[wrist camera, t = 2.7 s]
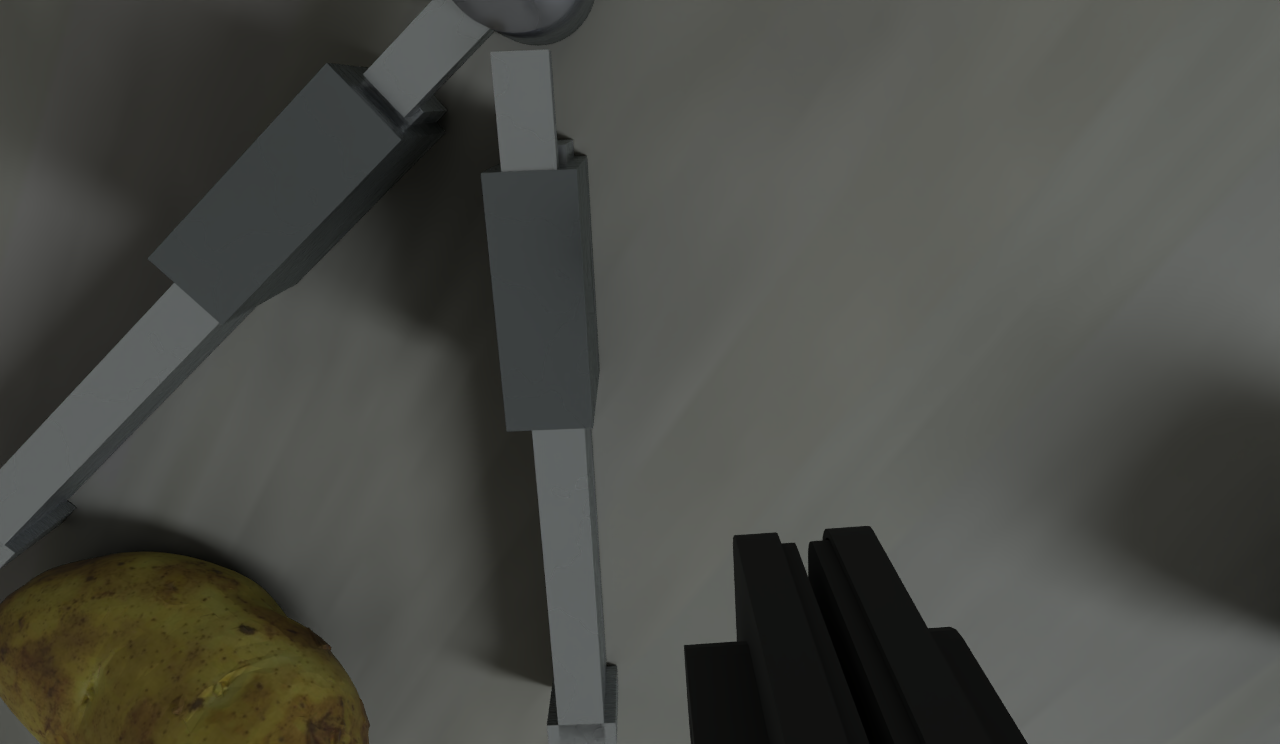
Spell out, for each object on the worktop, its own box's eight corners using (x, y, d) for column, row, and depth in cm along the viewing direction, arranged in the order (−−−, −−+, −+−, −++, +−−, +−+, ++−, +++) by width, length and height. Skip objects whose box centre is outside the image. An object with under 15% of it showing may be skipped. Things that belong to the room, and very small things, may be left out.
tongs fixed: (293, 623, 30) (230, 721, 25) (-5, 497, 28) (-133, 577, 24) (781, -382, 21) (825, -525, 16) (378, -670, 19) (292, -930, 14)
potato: (143, 443, 28) (-41, 572, 20) (442, 647, 31) (380, 827, 23) (26, 598, 30) (-181, 769, 22) (318, 777, 33) (223, 982, 25)
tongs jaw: (500, 61, 24) (468, 52, 19) (581, 58, 24) (569, 48, 19) (556, 689, 31) (543, 794, 26) (618, 686, 31) (616, 792, 26)
